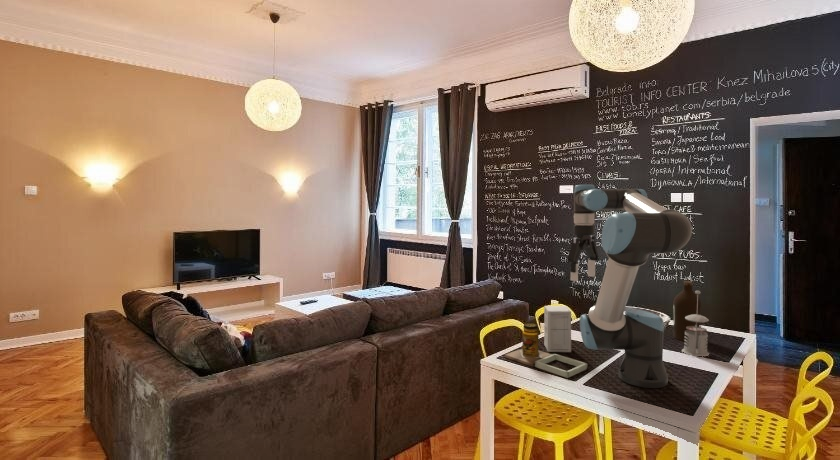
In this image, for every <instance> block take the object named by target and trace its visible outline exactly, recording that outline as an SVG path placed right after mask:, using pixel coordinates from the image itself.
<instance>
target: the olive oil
mask: <svg viewBox="0 0 840 460" xmlns="http://www.w3.org/2000/svg"><path fill="white" fill-rule="evenodd" d="M702 305H703V304H702V301H701V299H700V298H699V296H698V312H697V294H696V293H695V291H693V282H692V281H690V280H684V281H683V289H682V290H681V291H680V292H679V293H678V294H677V295H675V296H674V299H673V304H672V306H673V307H672V310H673V338H674V339H676V340H678V341H683V342H685V341H684V339H685V336H686V337H688V336H687V335H685V330H687V329H686V327H687V326H695V325H696V322H692V321H688V320H686V319H685V317H686V316H688V315H693V314H698V315H701V314H702V308H703V307H702ZM701 316H702V315H701ZM700 325H701V323H700V322H697V327H700ZM688 339H689V338H688ZM686 340H687V339H686ZM688 342H689V341H688Z"/></svg>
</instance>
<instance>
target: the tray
mask: <svg viewBox="0 0 840 460" xmlns="http://www.w3.org/2000/svg"><path fill="white" fill-rule="evenodd" d="M553 361H559V362H561V363H563V364H564V363H565V364H568V365H571V366H574V367H573V368H572V369H571V368H570V369H569V370H564V369H562V368H560V367H556V366H554V365H551V364H549V363H551V362H553ZM534 367H535V368H538V369H541V370H543V371H546V372H549V373H551V374H554V375H558V376H561V377H564V378H566V379H568V378H571V377H573V376H575V375H577V374H581V373H582V372H584V371H586V370H587V369H588V363H587V362H584V361H580V360H579V359H578V360H577V359H574V358H570V357H568V356H564V355H561V354H557V353H552V355H550V356H548V357H545V358H543V359H540V360H537V361H535V366H534Z"/></svg>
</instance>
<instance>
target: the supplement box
mask: <svg viewBox="0 0 840 460" xmlns="http://www.w3.org/2000/svg"><path fill="white" fill-rule="evenodd" d="M543 309H544V310H543V314H544V317H543V319H544V320H543V322H544V326H543V327H544V328H543V330H544V332H543V335H544V338H543V341H544V343H543V345H544V346H545V349H546V351H547V353H572V311H571V309H570V308H569V307H568V306H567V305H544V308H543Z"/></svg>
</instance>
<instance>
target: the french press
mask: <svg viewBox="0 0 840 460" xmlns="http://www.w3.org/2000/svg"><path fill="white" fill-rule="evenodd" d="M694 293H695V294H696V295H697V312H698V297H699V295H700V294H701V291H700V290H695V291H694ZM685 319H686V320H688V321H692V322H696V325H695V326H687V327H686V329H687V330H685V335H687V336H688V337H686V336H685V339H684V341H683V342H684V346H683V348H682V349H681V353H683V352H684V353H683V354H685V353H686V354H685V355H687V354H689V355H688V356H690V355H692V357H696V356H702V357H701V358H704V357H703V356H708V355H709V354H710V352H709V351H708V337H709V333H708V332H707V331H708V330H707V328H704V327H702V325H701V323H708V322H709V318H707V317H706V316H704V315H698V314H693V315H688V316H686V317H685ZM697 322H700V327H697ZM688 338H689V339H688ZM686 339H687V340H686ZM688 341H689V342H688ZM708 357H709V356H708Z"/></svg>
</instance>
